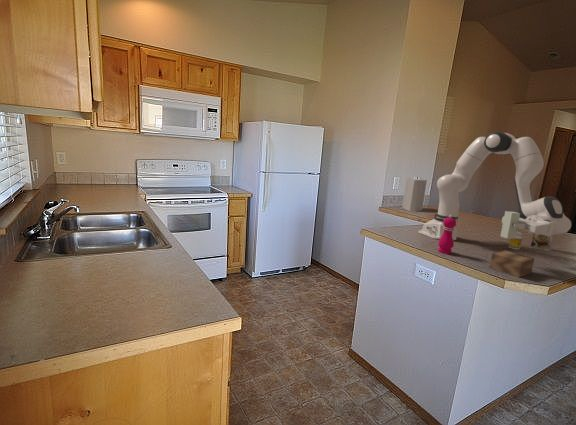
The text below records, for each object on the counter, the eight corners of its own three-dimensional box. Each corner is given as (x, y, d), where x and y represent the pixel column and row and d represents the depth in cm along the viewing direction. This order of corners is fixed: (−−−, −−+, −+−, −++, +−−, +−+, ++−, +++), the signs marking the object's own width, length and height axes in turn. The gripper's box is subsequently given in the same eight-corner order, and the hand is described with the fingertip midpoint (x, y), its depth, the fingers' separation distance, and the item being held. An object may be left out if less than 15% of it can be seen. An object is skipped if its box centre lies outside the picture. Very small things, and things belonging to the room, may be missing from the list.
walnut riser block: (489, 267, 147) (492, 253, 145) (502, 264, 153) (505, 250, 152) (518, 277, 137) (522, 262, 136) (531, 273, 143) (534, 258, 142)
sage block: (500, 236, 150) (505, 211, 148) (508, 236, 151) (512, 211, 148) (507, 238, 146) (512, 213, 144) (514, 238, 147) (520, 213, 144)
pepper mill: (433, 250, 168) (440, 213, 164) (443, 249, 171) (450, 213, 167) (445, 254, 162) (452, 216, 158) (455, 253, 165) (462, 216, 161)
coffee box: (529, 247, 188) (536, 221, 184) (531, 246, 192) (537, 220, 189) (549, 252, 182) (556, 224, 178) (550, 250, 186) (557, 223, 183)
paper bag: (425, 212, 284) (430, 181, 279) (409, 211, 284) (413, 179, 279) (417, 208, 303) (422, 179, 297) (402, 207, 303) (406, 177, 297)
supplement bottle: (510, 246, 188) (514, 230, 186) (521, 249, 184) (524, 233, 182) (506, 247, 185) (510, 231, 183) (517, 250, 181) (520, 233, 179)
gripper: (518, 213, 158) (493, 212, 156) (556, 223, 138) (528, 222, 137) (515, 226, 159) (490, 225, 158) (553, 237, 140) (525, 236, 138)
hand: (508, 223), depth 147 cm, fingers closed on sage block, 4 cm apart
